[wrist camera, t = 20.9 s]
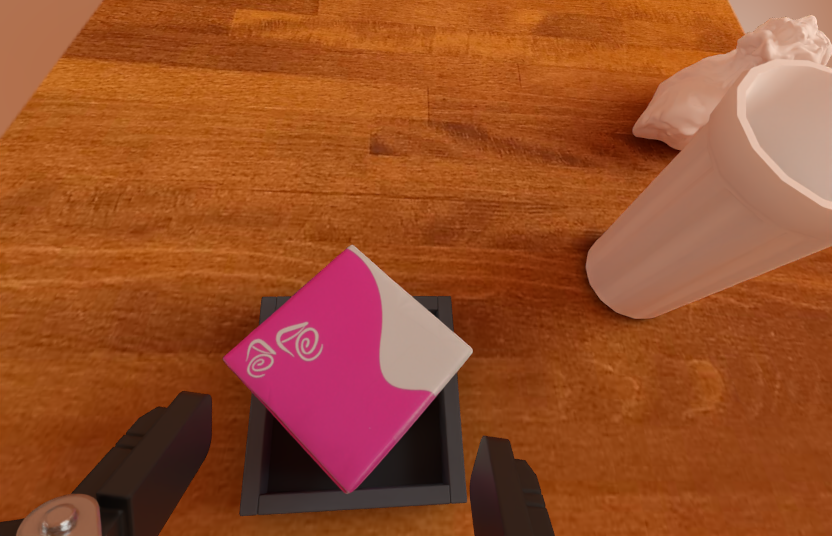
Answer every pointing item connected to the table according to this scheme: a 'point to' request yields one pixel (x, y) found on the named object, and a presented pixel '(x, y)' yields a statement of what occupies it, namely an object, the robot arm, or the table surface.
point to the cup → (728, 197)
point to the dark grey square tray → (387, 484)
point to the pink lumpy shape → (725, 78)
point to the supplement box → (348, 365)
